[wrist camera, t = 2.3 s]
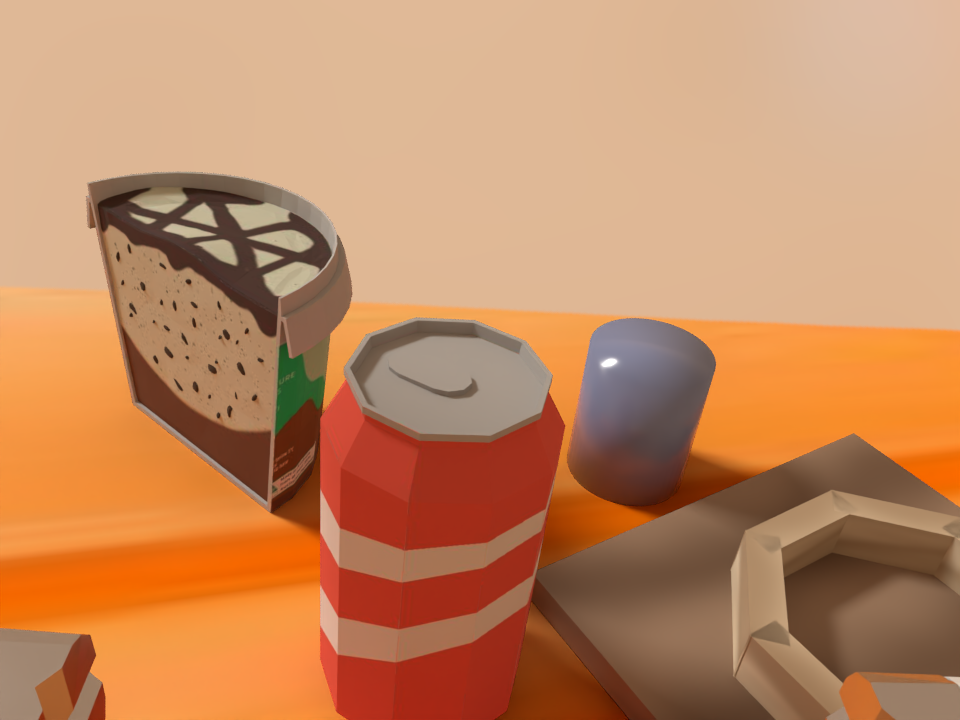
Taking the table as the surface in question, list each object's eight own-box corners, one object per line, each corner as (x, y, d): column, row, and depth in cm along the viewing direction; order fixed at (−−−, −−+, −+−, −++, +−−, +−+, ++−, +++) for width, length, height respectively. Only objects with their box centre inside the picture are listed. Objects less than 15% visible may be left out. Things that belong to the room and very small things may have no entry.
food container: (410, 459, 38) (425, 247, 32) (296, 533, 33) (291, 305, 28) (228, 339, 44) (215, 143, 38) (113, 389, 40) (79, 178, 34)
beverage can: (395, 571, 32) (414, 284, 26) (549, 657, 30) (615, 364, 23) (281, 689, 28) (268, 378, 21) (451, 801, 25) (497, 490, 19)
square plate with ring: (527, 595, 32) (539, 531, 30) (845, 453, 41) (869, 397, 39) (984, 1149, 20) (1049, 1097, 18) (1293, 778, 29) (1358, 719, 27)
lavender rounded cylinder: (544, 448, 39) (565, 333, 36) (630, 418, 42) (657, 308, 38) (616, 521, 36) (647, 402, 32) (705, 483, 38) (742, 369, 35)
